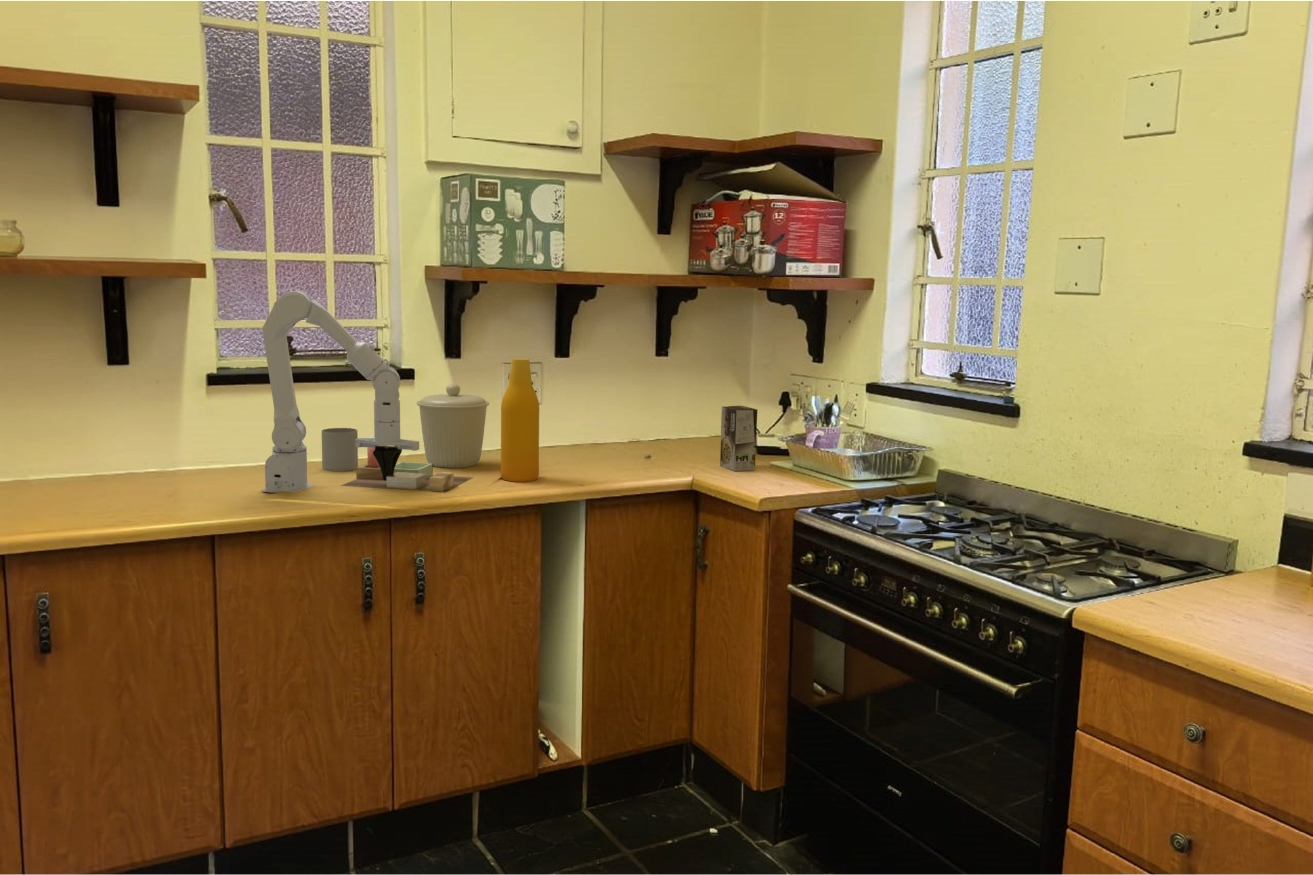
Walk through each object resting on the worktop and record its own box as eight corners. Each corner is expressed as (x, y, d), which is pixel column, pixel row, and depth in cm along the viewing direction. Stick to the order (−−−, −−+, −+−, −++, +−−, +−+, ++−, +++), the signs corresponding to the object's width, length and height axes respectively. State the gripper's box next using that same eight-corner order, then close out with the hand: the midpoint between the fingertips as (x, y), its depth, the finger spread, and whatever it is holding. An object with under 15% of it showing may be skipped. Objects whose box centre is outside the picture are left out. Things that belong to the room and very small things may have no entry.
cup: (363, 468, 261) (362, 428, 260) (350, 474, 253) (349, 433, 252) (330, 466, 262) (329, 427, 260) (316, 472, 254) (315, 432, 252)
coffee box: (756, 470, 272) (758, 409, 270) (733, 471, 270) (736, 409, 267) (740, 464, 281) (743, 405, 278) (718, 465, 278) (721, 405, 276)
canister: (450, 457, 279) (450, 379, 276) (503, 465, 270) (503, 384, 267) (402, 466, 264) (401, 384, 261) (456, 475, 255) (456, 389, 252)
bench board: (445, 494, 232) (445, 478, 232) (338, 488, 236) (338, 472, 236) (473, 479, 250) (473, 465, 249) (373, 473, 254) (372, 459, 253)
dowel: (376, 478, 246) (376, 448, 245) (365, 477, 246) (365, 448, 245) (382, 475, 249) (381, 446, 248) (370, 475, 249) (370, 446, 248)
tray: (418, 482, 242) (418, 470, 242) (385, 480, 243) (385, 468, 243) (432, 475, 251) (432, 463, 250) (401, 473, 252) (401, 461, 252)
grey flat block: (416, 489, 234) (415, 478, 234) (386, 487, 235) (386, 476, 235) (426, 484, 240) (426, 473, 240) (397, 482, 241) (397, 471, 241)
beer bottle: (535, 482, 248) (536, 361, 244) (496, 481, 249) (497, 359, 244) (541, 475, 257) (542, 358, 253) (504, 474, 258) (505, 357, 253)
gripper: (424, 420, 239) (424, 478, 241) (364, 417, 241) (365, 474, 244) (412, 424, 232) (412, 484, 234) (351, 421, 235) (352, 480, 237)
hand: (387, 479), depth 238 cm, fingers closed
